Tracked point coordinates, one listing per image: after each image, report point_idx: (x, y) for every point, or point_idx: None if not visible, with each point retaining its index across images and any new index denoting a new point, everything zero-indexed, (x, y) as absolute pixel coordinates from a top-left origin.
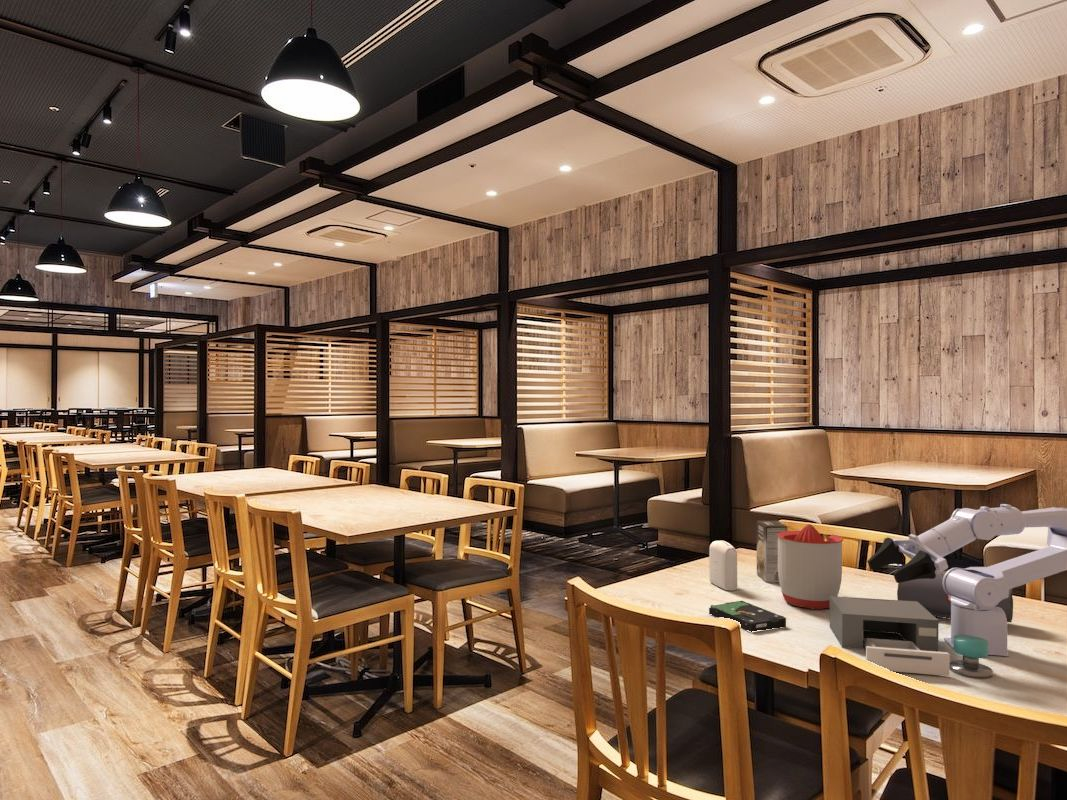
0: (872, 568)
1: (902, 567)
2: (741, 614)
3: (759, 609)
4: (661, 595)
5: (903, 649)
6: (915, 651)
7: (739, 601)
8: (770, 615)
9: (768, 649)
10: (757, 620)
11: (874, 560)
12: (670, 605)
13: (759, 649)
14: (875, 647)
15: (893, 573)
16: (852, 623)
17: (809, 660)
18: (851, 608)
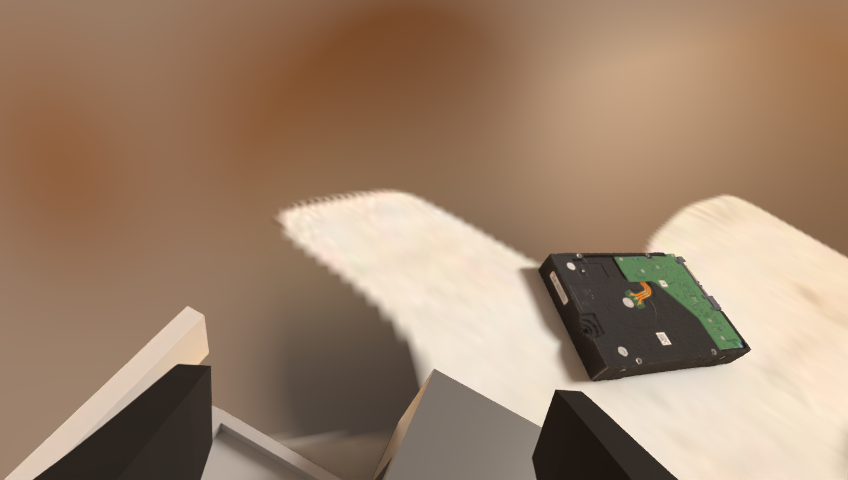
0: (538, 453)
1: (127, 430)
2: (625, 279)
3: (678, 345)
4: (776, 256)
5: (81, 427)
6: (21, 465)
7: (741, 339)
8: (624, 337)
9: (423, 232)
10: (573, 279)
11: (573, 443)
12: (707, 234)
13: (426, 217)
14: (172, 334)
15: (202, 365)
16: (407, 420)
17: (330, 263)
18: (503, 470)
